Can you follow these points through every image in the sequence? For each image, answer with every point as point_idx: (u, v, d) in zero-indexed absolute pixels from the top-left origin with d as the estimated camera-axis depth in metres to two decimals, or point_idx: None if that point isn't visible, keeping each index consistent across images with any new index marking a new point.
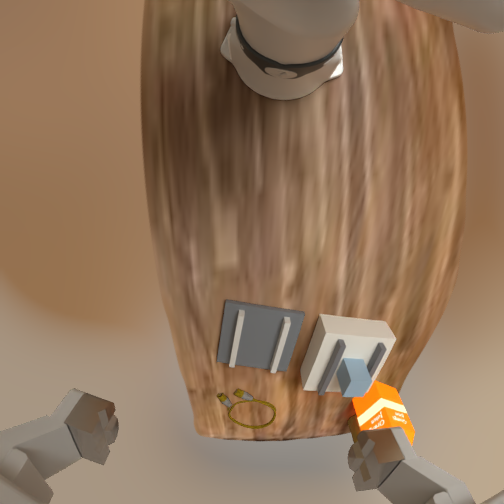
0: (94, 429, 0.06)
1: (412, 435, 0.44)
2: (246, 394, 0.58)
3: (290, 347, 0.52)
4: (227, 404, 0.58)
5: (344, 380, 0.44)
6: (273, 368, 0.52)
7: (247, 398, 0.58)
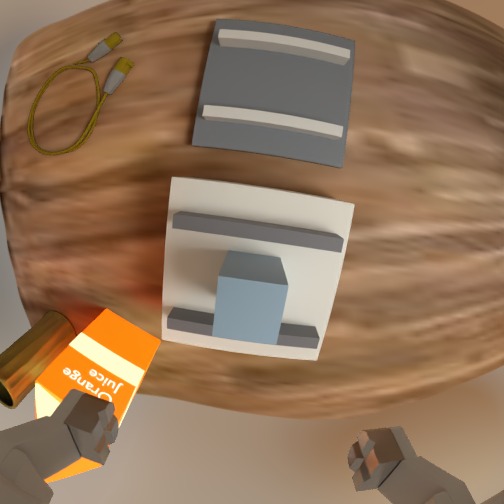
0: (94, 429, 0.06)
1: (93, 466, 0.18)
2: (120, 79, 0.23)
3: (261, 145, 0.25)
4: (95, 51, 0.22)
5: (257, 270, 0.18)
6: (217, 110, 0.22)
7: (111, 81, 0.23)
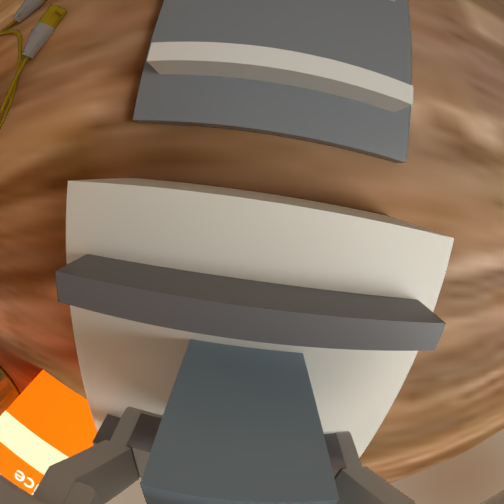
0: None
1: None
2: (44, 34, 0.11)
3: (261, 114, 0.12)
4: (22, 7, 0.09)
5: (252, 434, 0.06)
6: (174, 49, 0.10)
7: (31, 39, 0.10)
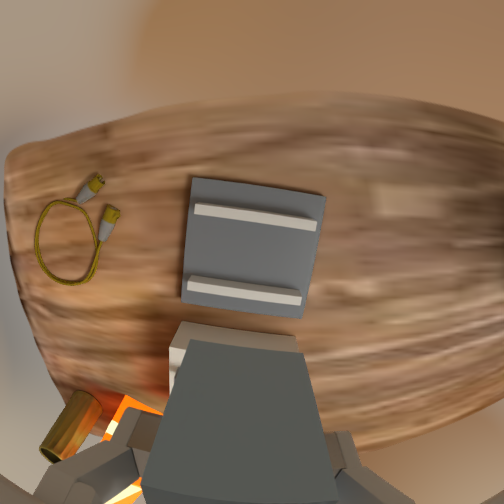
0: None
1: None
2: (111, 228, 0.31)
3: (236, 304, 0.32)
4: (82, 196, 0.29)
5: (252, 435, 0.06)
6: (198, 286, 0.30)
7: (103, 232, 0.30)
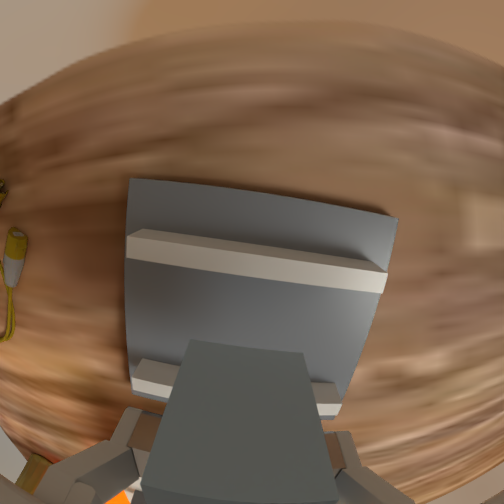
0: None
1: None
2: (17, 267, 0.15)
3: None
4: None
5: (252, 435, 0.06)
6: (151, 387, 0.14)
7: (8, 273, 0.15)
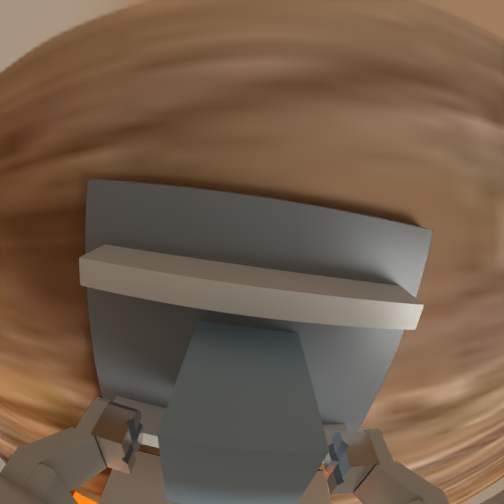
0: (124, 439, 0.06)
1: None
2: None
3: None
4: None
5: (253, 396, 0.07)
6: None
7: None
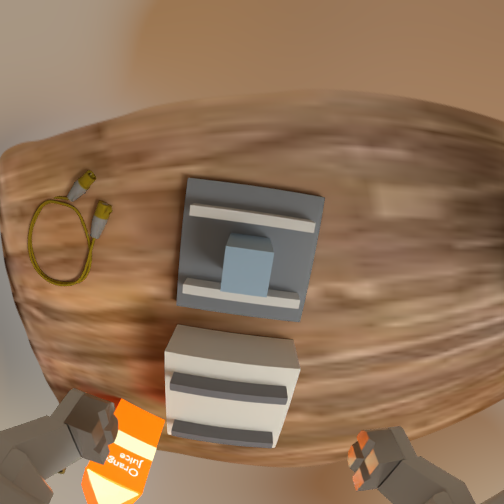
0: (94, 429, 0.06)
1: None
2: (103, 224, 0.30)
3: (233, 308, 0.32)
4: (73, 193, 0.28)
5: (252, 244, 0.26)
6: (194, 289, 0.29)
7: (95, 228, 0.29)
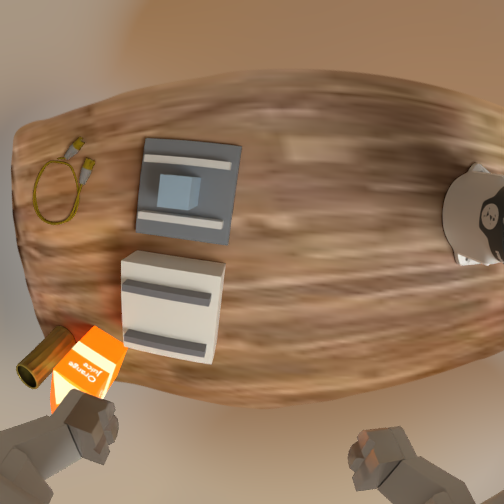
0: (94, 429, 0.06)
1: None
2: (88, 174, 0.39)
3: (175, 233, 0.41)
4: (69, 153, 0.37)
5: None
6: (145, 215, 0.38)
7: (82, 176, 0.39)
